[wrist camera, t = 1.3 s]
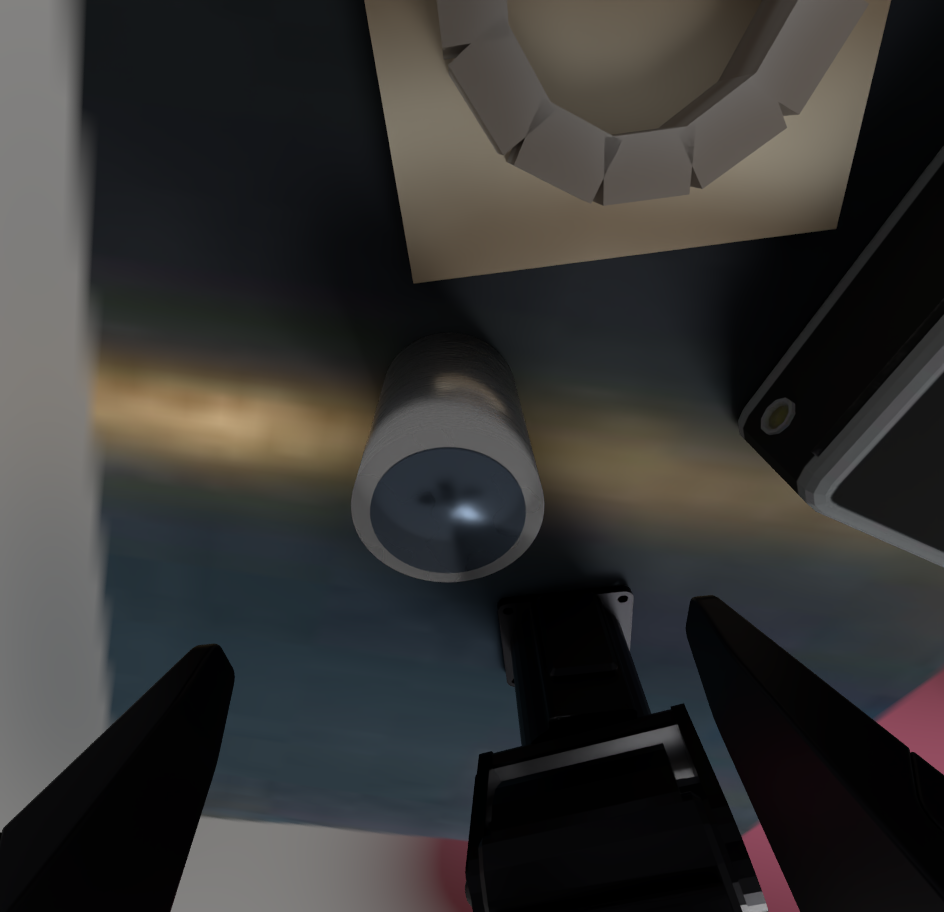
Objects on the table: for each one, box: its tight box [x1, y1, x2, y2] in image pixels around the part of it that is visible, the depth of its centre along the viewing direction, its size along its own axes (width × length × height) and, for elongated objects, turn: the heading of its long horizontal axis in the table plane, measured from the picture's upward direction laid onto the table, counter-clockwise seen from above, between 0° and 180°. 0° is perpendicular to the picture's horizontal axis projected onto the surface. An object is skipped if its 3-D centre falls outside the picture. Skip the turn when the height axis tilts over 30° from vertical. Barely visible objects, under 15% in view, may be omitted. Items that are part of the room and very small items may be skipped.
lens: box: [351, 332, 544, 582], centre depth 16 cm, size 5×5×7 cm
